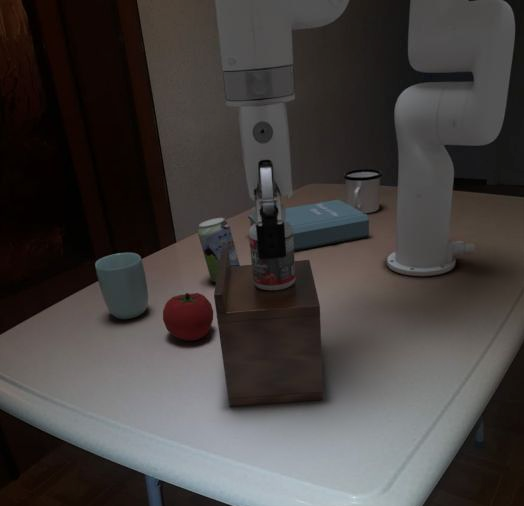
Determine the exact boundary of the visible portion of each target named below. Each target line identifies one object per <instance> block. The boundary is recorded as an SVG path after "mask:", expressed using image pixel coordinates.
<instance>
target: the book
mask: <svg viewBox="0 0 524 506" xmlns="http://www.w3.org/2000/svg"><path fill="white" fill-rule="evenodd" d="M285 210H286V219H285V220H284V221H286V222H288V223H289V224H290V225H291V226H292V229H293V242H294V252H295V251H301V250H307V249H311V248H317V247H323V246H327V245H333V244H338V243H342V242H348V241H354V240H361V239H365V238H368V236H369V235H370V219H369V216H368V214H364V213H363V212H361V211H359V210H357V209H355V208H353V207H351V206H349V205H348V204H346V202H344V201H342V200H340V199H334V200H327V201H321V202H316V203H311V204H304V205H299V206H293V207H287V208H286V207H285ZM247 218H248V219H249V221H250V222H249V223H250V227H251V226H252V225H254V224H255V222H254V221H253V218H252V213H251V214H248V215H247Z"/></svg>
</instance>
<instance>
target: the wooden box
mask: <svg viewBox="0 0 524 506" xmlns="http://www.w3.org/2000/svg"><path fill="white" fill-rule="evenodd" d="M294 261H295V282H294V284H293V285H291V286H290V287H288V288H285V289H281V290H263V289H259V288H257V287H256V286H255V285H254V281H253V271H252V264H242V265H240V266H230V258H229V250H222V251H221V256H220V262H219V268H218V274H217V280H216V282H215V285H214V292H213V299H214V306H215V313H216V320H217V327H218V335H219V341H220V350H221V356H222V362H223V370H224V377H225V379H224V380H225V386H226V393H227V400H228V406H229V407H240V406H252V405H253V406H254V405H267V404H281V403H294V402H307V401H321V400H324V381H323V356H322V355H323V353H322V327H321V325H322V324H321V323H322V322H321V305H320V304H321V303H320V301H319V300H320V299H319V296H318V291H317V286H316V282H315V278H314V274H313V269H312V265H311V261H310V259H304V260H303V259H302V260H301V259H300V260H294Z"/></svg>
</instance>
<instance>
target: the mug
mask: <svg viewBox="0 0 524 506" xmlns="http://www.w3.org/2000/svg"><path fill="white" fill-rule="evenodd" d="M342 176H343V179H345V203H346V204H348V205H349V206H351V207H353V208H355V209H357V210H359V211H361V212H363V213H364V214H366V215H368V214H372V213H375V212H377V211H378V210H380V191H381V190H380V189H381V188H380V187H381V185H380V184H381V177H383V172H382V171H381V170H379V169H373V168H362V169H353V170H349V171H346V172H344V173H343V175H342Z"/></svg>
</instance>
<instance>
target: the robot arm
mask: <svg viewBox="0 0 524 506" xmlns="http://www.w3.org/2000/svg"><path fill="white" fill-rule="evenodd" d="M409 1H410V2H409V15H408V35H407V58H408V62H409V66H411V68H412V69H413V70H414V71H416V72H420V73H427V74H429V73H430V74H441V73H445V74H446V73H472V77H473V81H430V82H427V81H426V82H420V83H416V84H413V85H411V86H409V87H407V88H405V89H404V90H403V91H402V92H401V93H400V94H399V96H398V97H397V99H396V102H395V105H394V110H393V111H394V112H393V113H394V114H393V117H394V118H393V120H394V128H395V134H396V141H397V142H396V143H397V155H398V156H397V159H398V167H397V168H398V174H397V196H396V198H397V200H396V201H397V202H396V224H395V225H396V226H395V251H394V252H392V253H390V254H389V255H388V256H387V257H386V265H387V267H388V269H390V270H391V271H393V272H395V273H397V274H401V275H406V276H412V277H430V276H438V275H442V274H445V273H447V272H450V271H452V270H453V269H454V268H455V267H456V257H457V256H458V255H470V254H474V253H475V248H476V247H475V243H474V242H471V243H464V241H463V240H458V241H452V240H450V228H451V214H452V203H453V202H452V201H453V191H454V180H455V168H454V164H453V160H452V158H451V156H450V154H449V152H448V150H447V149H446V145H448V146H473V147H475V146H477V147H478V146H480V147H481V146H486V145H489V144H491V143H493V142H494V141H495V140H496V139H497V138H498V136H499V134H500V133H501V130H502V128H503V124H504V120H505V114H506V109H507V101H508V94H509V85H510V78H511V71H512V63H513V56H514V48H515V38H516V21H515V14H514V11H513V8H512V6H511V5H510V4H509V3H508V2H506V1H505V0H409ZM214 3H215V13H216V22H217V33H218V39H219V50H220V51H219V52H220V60H221V68H222V69H221V70H222V79H223V89H224V99H225V105H226V106H227V107H236V108H237V117H238V126H239V135H240V144H241V145H240V146H241V152H242V153H241V154H242V160H243V166H244V167H243V168H244V174H245V179H246V184H247V190H248V196H249V199H250V200H252V201H253V202H255V206H256V207H257V220H258V225H256V231H257V242H258V253H259V258H260V259H272V258H283V257H285V256H286V243H285V228H284V223H282V215H281V204H282V203H281V201H282V198H281V196H282V197H283V196H286V198H287V199H290V198H292V197H293V194H294V192H293V190H294V189H293V179H292V178H293V177H292V161H291V160H292V159H291V144H290V131H289V130H290V129H289V121H288V110H287V105H286V104H287V102H291V101H294V100H295V99H296V90H295V89H296V87H295V71H294V67H295V66H294V51H293V31H296V30H306V29H316V28H321V27H324V26H327V25H329V24H331V23H333V22H335V21H336V20H337V19H339V18H340V17H341V16H342V14H343V13H345V10H346V9H347V7H348V5H349V3H350V0H214ZM274 203H276V205H274ZM261 204H263V206H261ZM262 223H263V224H262Z"/></svg>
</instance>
